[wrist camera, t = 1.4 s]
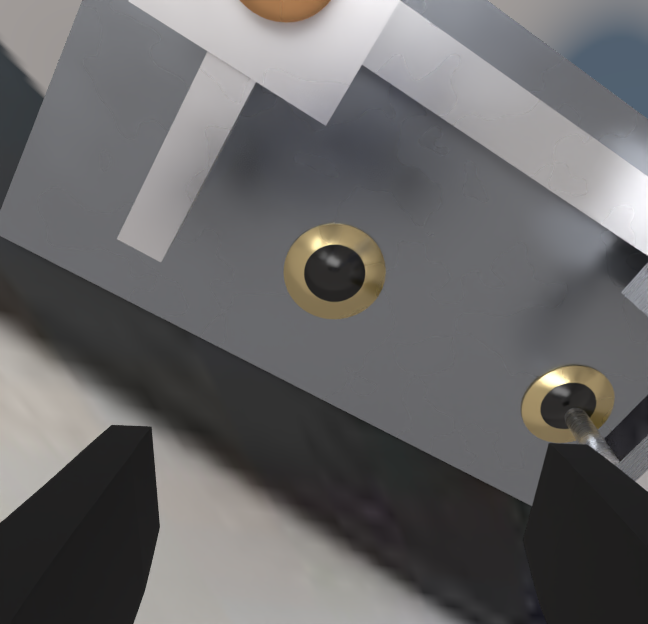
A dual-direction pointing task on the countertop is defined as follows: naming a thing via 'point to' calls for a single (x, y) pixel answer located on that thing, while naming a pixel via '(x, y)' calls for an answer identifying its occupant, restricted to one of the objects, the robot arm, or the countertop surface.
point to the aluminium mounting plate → (378, 229)
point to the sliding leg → (245, 87)
